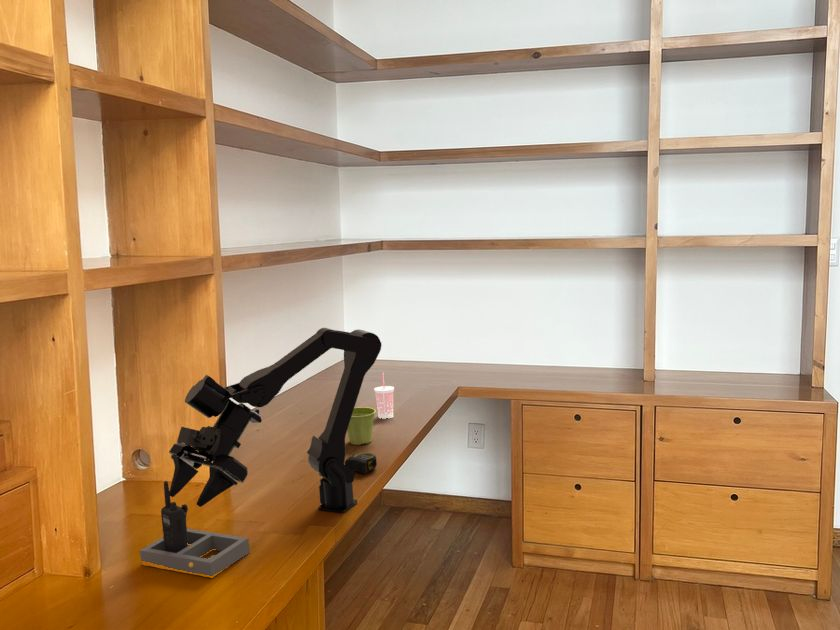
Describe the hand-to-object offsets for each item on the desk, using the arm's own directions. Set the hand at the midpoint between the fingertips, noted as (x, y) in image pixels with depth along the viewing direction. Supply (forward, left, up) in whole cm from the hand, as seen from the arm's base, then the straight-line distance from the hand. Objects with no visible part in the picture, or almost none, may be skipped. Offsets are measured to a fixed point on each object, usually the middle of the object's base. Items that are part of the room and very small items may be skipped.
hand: (184, 500), depth 149 cm
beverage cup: (+7, -97, -11) cm, 98 cm away
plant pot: (+2, -72, -11) cm, 73 cm away
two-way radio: (0, +2, -11) cm, 11 cm away
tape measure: (-10, -51, -11) cm, 53 cm away
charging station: (-3, +2, -10) cm, 11 cm away
